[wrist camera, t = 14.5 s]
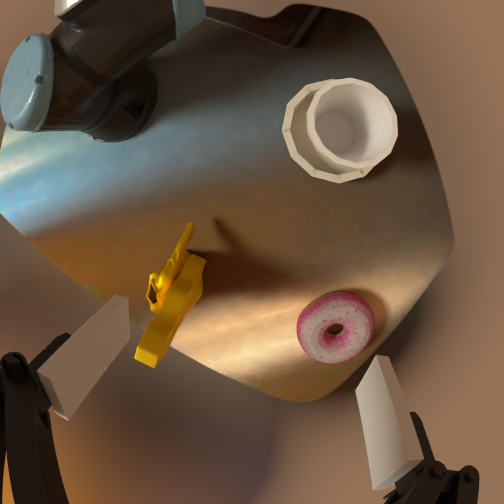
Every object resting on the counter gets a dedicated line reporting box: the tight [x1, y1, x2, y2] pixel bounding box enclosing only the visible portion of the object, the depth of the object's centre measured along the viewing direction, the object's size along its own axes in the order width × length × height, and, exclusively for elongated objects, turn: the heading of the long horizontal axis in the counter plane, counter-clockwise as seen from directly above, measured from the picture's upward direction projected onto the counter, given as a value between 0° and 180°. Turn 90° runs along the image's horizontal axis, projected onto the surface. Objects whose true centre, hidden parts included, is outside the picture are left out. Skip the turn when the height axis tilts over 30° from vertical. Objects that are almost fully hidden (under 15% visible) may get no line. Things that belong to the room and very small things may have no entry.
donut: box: [297, 292, 375, 363], centre depth 45 cm, size 14×13×5 cm
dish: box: [282, 79, 375, 183], centre depth 35 cm, size 14×14×4 cm
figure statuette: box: [135, 222, 207, 368], centre depth 36 cm, size 18×8×22 cm, turn 156°
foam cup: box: [306, 78, 398, 169], centre depth 30 cm, size 10×9×13 cm
